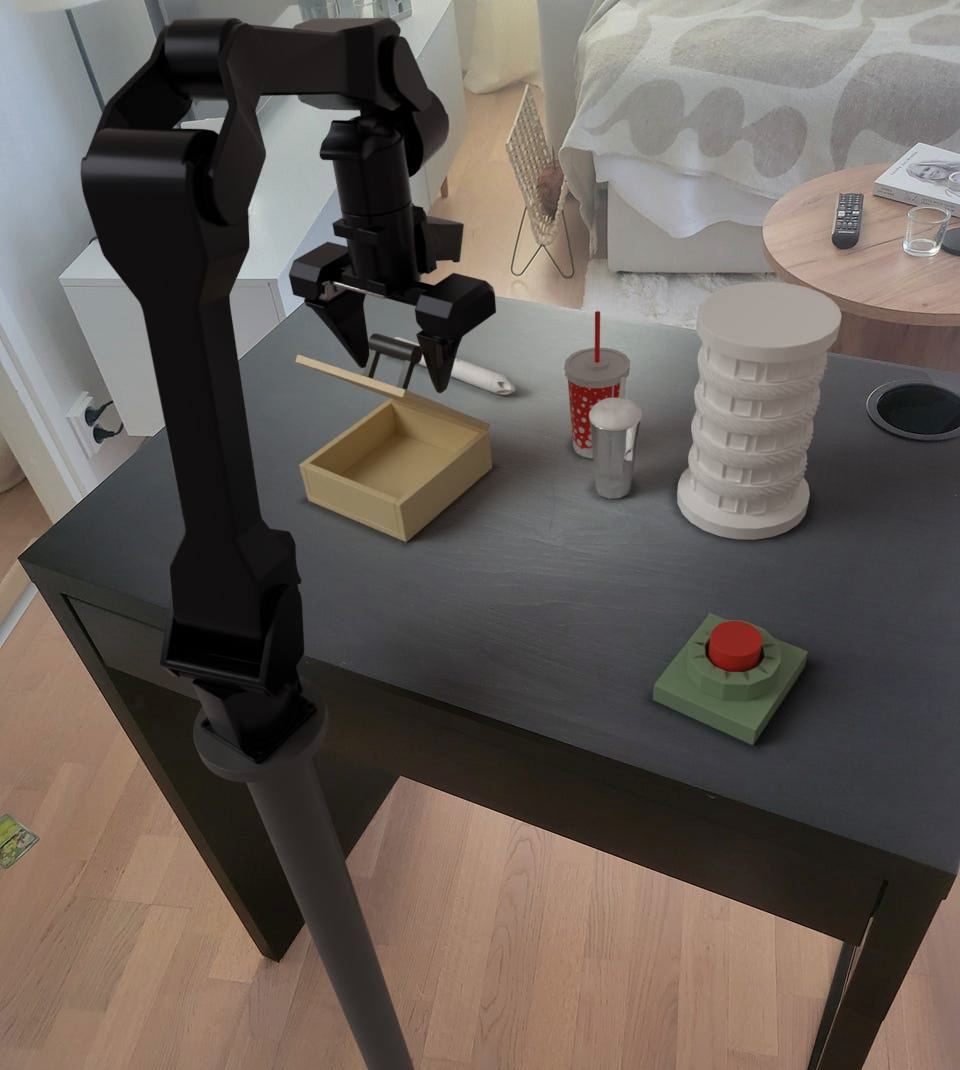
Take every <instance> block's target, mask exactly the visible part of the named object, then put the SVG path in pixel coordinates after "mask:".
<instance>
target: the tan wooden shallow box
mask: <svg viewBox="0 0 960 1070" xmlns="http://www.w3.org/2000/svg"><path fill="white" fill-rule="evenodd" d="M491 448H492V447H491V437H490V431H489V430H488V431H486V430H483V429H480V428H477V427H474V426H471V425H468V424H465V423H462V422H459V421H456V420H453V419H450V418H448V417H445V416H442V415H439V414H436V413H433V412H430V411H427V410H424V409H421V408H418V407H415V406H412V405H409V404H406V403H403V402H400V401H397V400H394V399H391V398H388V400H386V401H384V402H383V403H382V404H380V405H379V406H378V407H377V408H375V409H373V410H372V411H371V412H369V413H368V414H367V415H366V416H364V417H362V418H361V419H360V420H358V421H357V422H355V424H353V425H352V426H350V427H349V428H348V429H346V430H344V431H343V432H342V433H341V434H339V435H338V436H336V437H335V438H334V439H333V440H331V441H330V442H328V443H327V444H325V445H324V446H323V447H322V448H320V449H319V450H317V451H316V452H315V453H313V454H312V455H310V456H309V457H307V458H306V459H305V460H304V461H302V462H301V463H300V464H298V466H299V469H300V474H301V477H302V482H303V486H304V490H305V493H306V497H307V500H308V502H311V503H313V504H315V505H318V506H320V507H323V508H325V509H327V510H329V511H332V512H334V513H336V514H338V515H341V516H343V517H346V518H349V519H351V520H353V521H354V522H358V523H360V524H362V525H364V526H367V527H369V528H372V529H374V530H376V531H379V532H381V533H383V534H386V535H388V536H391V537H393V538H395V539H397V540H400V541H402V542H404V543H408V542H409V541H410V540H411V539H412V538H413V537H414V536H415V535H417V534H418V533H419V532H420V531H421V530H422V529H424V528H425V527H426V526H427V525H428V524H430V523H431V522H432V521H433V520H434V519H435V518H436V517H437V516H438V515H440V514H441V513H443V511H444V510H445V509H446V508H448V507H449V506H450V505H451V504H452V503H454V502H455V501H456V500H457V499H458V498H459V497H461V496H462V495H463V494H465V492H466V491H468V490H469V489H470V488H471V487H472V486H473V485H474V484H475V483H477V482H478V481H479V480H481V478H483V476H485V475H486V474H487V473H489V472H490V471H491V470H492V469H493V460H492V449H491Z"/></svg>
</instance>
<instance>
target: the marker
mask: <svg viewBox="0 0 960 1070" xmlns="http://www.w3.org/2000/svg"><path fill="white" fill-rule="evenodd" d="M393 338H394V339H398V340H401V341H404V342H408V343H411V344H414V345H418V346H420V345H419V343H418V342H414V341H412V340H409V339H406V338H403V337H400V336H395V337H393ZM417 365H419V366H423V367H425V368H427V366H426V363H425V360H424V357H423V355H422V359H421V361H420V362H419V363H418V364H417ZM450 378H454V379H457V380H459V381H461V382H464V383H466V384H469V385H472V386H475V387H477V388H480V389H482V390H484V391H488V392H489V393H493V394H496V395H502V396H503V395H510V394H513V393H515V391H516V387H515V385H514V384H513V382H512V381H511V380H510V379H509V378H508V377H506V375H503V374H500V373H498V372H496V371H493V370H490V369H487V368H485V367H482V366H479V365H476V364H475V363H471V362H470V361H466V360H463V359H461V358H459V357H458V358H457V357H455V361H454V365H453V369H452V372H451V376H450Z"/></svg>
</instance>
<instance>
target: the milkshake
mask: <svg viewBox="0 0 960 1070" xmlns="http://www.w3.org/2000/svg"><path fill="white" fill-rule="evenodd" d="M625 382H627V378H626V377H621V380H620V389H619V398H606V399H603V400H601V401H599V402H598V403H597V404H595V405H594V406H593V407H592V409H591V411H590V412H589V420H590V429H591V438H592V450H593V459H592V460H593V474H594V487H595V491H596V492H597V493H598V496H600V497H603V498H606V499H609V500H615V499H622V498H624V497H625V496H627V495H629V493H630V490H631V488H632V482H633V475H634V468H635V467H634V466H635V460H636V459H635V458H636V450H637V445H638V437H639V431H640V426H641V419H642V410H641V408H640V407H639V405H638V404H637V403H636V402H634V401H633V400H630V399H626V398H625V394H624V391H626V384H625Z"/></svg>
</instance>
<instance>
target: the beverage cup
mask: <svg viewBox="0 0 960 1070" xmlns="http://www.w3.org/2000/svg"><path fill="white" fill-rule="evenodd" d="M564 360H565V361H564V366H563V367H564V376H565V377H566V379H567V387H568V388H567V389H568V399H569V400H568V401H569V411H570V424H571V436H572V447H573V449H574V451H575V453H576V454H577V455H579V456H581V457H583V458H587V459H592V460H593V450H592V438H591V429H590V420H589V412H590V411H591V409H592V407H593V406H594V405H595V404H597V403H598V402H599V401H601V400H603V399H606V398H619V389H620V380H621V377H626V379H627V378H628V377H629V376H630V369H631V360H630V358H629V357H628V355H627V354H626V353H623V352H622V351H619V350H618V349H614V348H608V347H601V311H599V310H597V311H594V347H589V348H584V349H580V350H577V351H575V352H573V353H571V354H570V355H569V356H568V357H567V358H566V359H564ZM626 382H627V381H626ZM626 382H625V385H626ZM625 391H626V390H625ZM625 391H624V395H625V394H626V392H625Z"/></svg>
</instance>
